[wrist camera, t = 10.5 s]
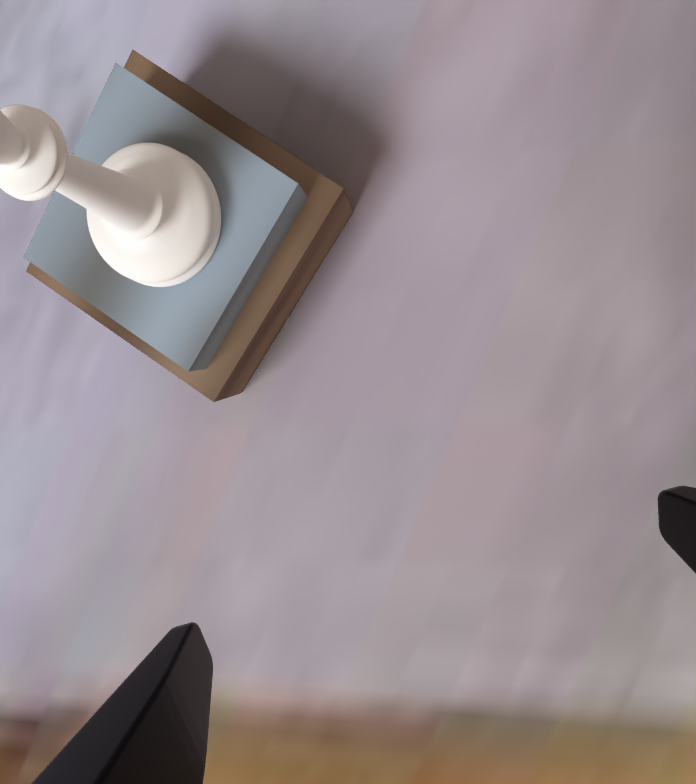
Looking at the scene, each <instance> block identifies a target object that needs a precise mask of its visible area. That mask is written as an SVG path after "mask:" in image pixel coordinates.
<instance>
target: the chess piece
mask: <svg viewBox="0 0 696 784" xmlns="http://www.w3.org/2000/svg"><path fill="white" fill-rule="evenodd" d="M0 188H1V189H3V190H4V191H5V192H6V193H8V194H9V195H11V196H13V197H15V198H17V199H20V200H25V201H35V200H39V199H42V198H45V197H47V196H48V195H50V194H51V193H52V192H54V191H57V192H59V193H60V194H62V195H64V196H66V197H68V198H69V199H71V200H72V201H74V202H76V203H78V204H79V205H81V206H83V207H84V208H86V209H87V223H88V228H89V232H90V235H91V238H92V240H93V243H94V245H95V247H96V249H97V250H98V252H99V254H100V255H101V256H102V258H103V259H104V260H105V261H106V262H107V263H108V264H109V265H110V266H111V267H112V268H113V269H114V270H115V271H117V272H118V273H120V274H121V275H123V276H125V277H127V278H129V279H132V280H134V281H136V282H138V283H140V284H143V285H147V286H152V287H168V286H173V285H177V284H180V283H182V282H184V281H186V280H188V279H190V278H192V277H193V276H194V275H196V274H197V273H198V272H199V271H200V270H201V269H202V268H203V267H204V266H205V265H206V264H207V262H208V261H209V259H210V258H211V256H212V254H213V252H214V250H215V248H216V245H217V243H218V239H219V235H220V230H221V208H220V202H219V198H218V195H217V192H216V190H215V187H214V185H213V183H212V181H211V179H210V178H209V176H208V175H207V173H206V172H205V171H204V170H203V169H202V167H201V166H200V165H199V164H197V163H196V162H195V161H194V160H193V159H191V158H190V157H188V156H187V155H185V154H183V153H181V152H179V151H177V150H175V149H173V148H171V147H168V146H166V145H162V144H158V143H138V144H133V145H130V146H127V147H125V148H122V149H121V150H119V151H117V152H116V153H114V154H113V155H112V156H110V157H109V158H108V159H107V160H106V161H105V162H104V163H103V164H102V166H101V165H98V164H95V163H93V162H90V161H88V160H85V159H83V158H80V157H78V156H75V155H73V154H71V153H69V152H68V151H67V145H66V141H65V138H64V135H63V133H62V131H61V129H60V128H59V126H58V125H57V123H56V122H55V121H54V120H53V119H52V118H51V117H50V116H49V115H48V114H46V113H45V112H43V111H41V110H39V109H37V108H33V107H28V106H25V105H9V106H6V107H4V108H2V109H0Z"/></svg>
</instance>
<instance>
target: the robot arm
mask: <svg viewBox="0 0 696 784" xmlns="http://www.w3.org/2000/svg"><path fill="white" fill-rule="evenodd" d="M658 515H659V529H660V532H661V535H662V537H663V538H664V540H665V541H666V542H667V543H668V544H669V545H670V547H671V548H672V549H673V550H674V551H675V552H676V553H677V554H678V555H679V556H680V557H681V558H682V559H683V560H684V561H685V563H686V564H687V565H688V566H689V567H690V568H691V569H692V570H693V571H694V572H695V573H696V488H693V487H687V486H677V487H674V488H670V489H667V490H663V491H662V492H660V493H659V495H658ZM212 676H213V662H212V657H211V654H210V652H209V649H208V647H207V644H206V642H205V640H204V637H203V635H202V632H201V630H200V628H199V626H198V625H197V624H196V623H193V622H191V623H188V624H184V625H180V626H177V627H174V628H172V629H171V630H170V631H169V632H168V633H167V634H166V635H165V637H164V638H163V639H162V640H161V641H160V642H159V643H158V644H157V645H156V647H155V648H154V649H153V650H152V651H151V652H150V653H149V654H148V655H147V656H146V658H145V659H144V660H143V661H142V662H141V663H140V664H139V665H138V666H137V667H136V669H135V670H134V671H133V672H132V673H131V674H130V675H129V676H128V677H127V679H126V680H125V681H124V682H123V683H122V684H121V685H120V686H119V687H118V688H117V690H116V691H115V692H114V693H113V694H112V695H111V696H110V697H109V698H108V699H107V701H106V702H105V703H104V704H103V705H102V706H101V707H100V708H99V709H98V710H97V712H96V713H95V714H94V715H93V716H92V717H91V718H90V719H89V720H88V722H87V723H86V724H85V725H84V726H83V727H82V728H81V729H80V730H79V731H78V733H77V734H76V735H75V736H74V737H73V738H72V739H71V740H70V741H69V742H68V744H67V745H66V746H65V747H64V748H63V749H62V750H61V751H60V752H59V753H58V755H57V756H56V757H55V758H54V759H53V760H52V761H51V762H50V763H49V764H48V766H47V767H46V768H45V769H44V770H43V771H42V772H41V773H40V774H39V776H38V777H37V778H36V779H35V780H34V781H33V782H32V783H31V784H203V777H204V770H205V762H206V752H207V740H208V727H209V715H210V702H211V689H212Z"/></svg>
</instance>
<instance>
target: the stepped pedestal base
mask: <svg viewBox="0 0 696 784" xmlns="http://www.w3.org/2000/svg"><path fill="white" fill-rule="evenodd" d="M138 143H158V144H162V145H166V146H168V147H171V148H173V149H175V150H177V151H179V152H181V153H183V154H185V155H187V156H188V157H190V158H191V159H193V160H194V161H195V162H196V163H197V164H199V165H200V166H201V167H202V169H203V170H204V171H205V172H206V173H207V175H208V176H209V178H210V179H211V181H212V183H213V185H214V187H215V190H216V192H217V195H218V198H219V202H220V208H221V230H220V235H219V239H218V243H217V245H216V248H215V250H214V252H213V254H212V256H211V258H210V259H209V261H208V262H207V264H206V265H205V266H204V267H203V268H202V269H201V270H200V271H199V272H198V273H197V274H196V275H194V276H193V277H192V278H190V279H188V280H186V281H184V282H182V283H180V284H177V285H173V286H168V287H152V286H147V285H143V284H140V283H138V282H136V281H134V280H132V279H129V278H127V277H125V276H123V275H121V274H120V273H118V272H117V271H115V270H114V269H113V268H112V267H111V266H110V265H109V264H108V263H107V262H106V261H105V260H104V259H103V258H102V256H101V255H100V254H99V252H98V250H97V249H96V247H95V245H94V243H93V240H92V238H91V235H90V232H89V228H88V223H87V209H86V208H84V207H83V206H81V205H79V204H78V203H76V202H74V201H72V200H71V199H69V198H68V197H66V196H64V195H62V194H60V193H59V192H57V191H54V193H53V196H52V198H51V200H50V202H49V204H48V206H47V208H46V210H45V212H44V214H43V217H42V219H41V221H40V223H39V225H38V227H37V229H36V231H35V233H34V236H33V238H32V240H31V242H30V244H29V246H28V248H27V250H26V252H25V254H24V258H25V259H27V260H28V261H30V264H29V266H28V268H27V270H26V272H28V273H29V274H31V275H32V276H34V277H35V278H36V279H38V280H39V281H41V282H42V283H44V284H45V285H47V286H48V287H49V288H51V289H52V290H54V291H55V292H57V293H58V294H59V295H61V296H62V297H64V298H65V299H67V300H68V301H70V302H71V303H72V304H74V305H75V306H77V307H78V308H80V309H81V310H82V311H84V312H85V313H87V314H88V315H90V316H91V317H92V318H94V319H95V320H97V321H98V322H100V323H101V324H103V325H104V326H105V327H107V328H108V329H110V330H111V331H113V332H114V333H115V334H117V335H118V336H120V337H121V338H123V339H124V340H126V341H127V342H128V343H130V344H131V345H133V346H134V347H136V348H137V349H138V350H140V351H141V352H143V353H144V354H146V355H147V356H149V357H150V358H151V359H153V360H154V361H156V362H157V363H159V364H160V365H161V366H163V367H164V368H166V369H167V370H169V371H170V372H171V373H173V374H174V375H176V376H177V377H179V378H180V379H182V380H183V381H184V382H186V383H187V384H189V385H190V386H192V387H193V388H194V389H196V390H197V391H199V392H200V393H202V394H203V395H205V396H206V397H207V398H209V399H210V400H212V401H213V402H215V401H218V400H221V399H225V398H228V397H231V396H234V395H237V394H240V393H241V392H242V391H243V389H244V388H245V386H246V384H247V383H248V381H249V379H250V378H251V376H252V375H253V373H254V371H255V370H256V368H257V367H258V365H259V363H260V362H261V360H262V358H263V357H264V355H265V354H266V352H267V350H268V349H269V347H270V346H271V344H272V342H273V341H274V339H275V337H276V336H277V334H278V333H279V331H280V329H281V328H282V326H283V325H284V323H285V321H286V320H287V318H288V316H289V315H290V313H291V312H292V310H293V308H294V307H295V305H296V303H297V302H298V300H299V299H300V297H301V295H302V294H303V292H304V291H305V289H306V287H307V286H308V284H309V282H310V281H311V279H312V278H313V276H314V274H315V273H316V271H317V270H318V268H319V266H320V265H321V263H322V261H323V260H324V258H325V257H326V255H327V253H328V252H329V250H330V249H331V247H332V245H333V244H334V242H335V240H336V239H337V237H338V236H339V234H340V232H341V231H342V229H343V227H344V226H345V224H346V223H347V221H348V219H349V218H350V216H351V215H352V213H353V210H352V208H351V205H350V203H349V200H348V198H347V195H346V193H345V191H344V188H342V187H341V186H339V185H338V184H336V183H335V182H333V181H332V180H330V179H329V178H327V177H326V176H324V175H323V174H321V173H320V172H318V171H317V170H315V169H313V168H312V167H310V166H309V165H307V164H306V163H304V162H303V161H301V160H300V159H298V158H297V157H295V156H294V155H292V154H291V153H289V152H288V151H286V150H285V149H283V148H282V147H280V146H279V145H277V144H276V143H274V142H272V141H271V140H269V139H268V138H266V137H265V136H263V135H262V134H260V133H259V132H257V131H256V130H254V129H253V128H251V127H250V126H248V125H247V124H245V123H244V122H242V121H241V120H239V119H238V118H236V117H234V116H233V115H231V114H230V113H228V112H227V111H225V110H224V109H222V108H221V107H219V106H218V105H216V104H215V103H213V102H212V101H210V100H209V99H207V98H206V97H204V96H203V95H201V94H200V93H198V92H197V91H195V90H193V89H192V88H190V87H189V86H187V85H186V84H184V83H183V82H181V81H180V80H178V79H177V78H175V77H174V76H172V75H171V74H169V73H168V72H166V71H165V70H163V69H162V68H160V67H159V66H157V65H156V64H154V63H152V62H151V61H149V60H148V59H146V58H145V57H143V56H142V55H140V54H139V53H137V52H136V51H134V50H132V52H131V54H130V56H129V58H128V60H127V62H126V64H125V66H124V68H123V67H121V66H120V65H118V64H117V63H115V65H114V67H113V69H112V72H111V74H110V76H109V78H108V80H107V82H106V84H105V86H104V88H103V90H102V93H101V95H100V97H99V99H98V101H97V103H96V105H95V107H94V109H93V111H92V114H91V116H90V118H89V120H88V122H87V124H86V126H85V128H84V130H83V133H82V135H81V137H80V139H79V141H78V143H77V145H76V147H75V149H74V151H73V155H75V156H78V157H80V158H83V159H85V160H88V161H90V162H93V163H95V164H98V165H101V166H102V164H103V163H104V162H105V161H106V160H107V159H108V158H109V157H110V156H112V155H113V154H114V153H116V152H117V151H119V150H121V149H122V148H125V147H127V146H130V145H133V144H138Z"/></svg>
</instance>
